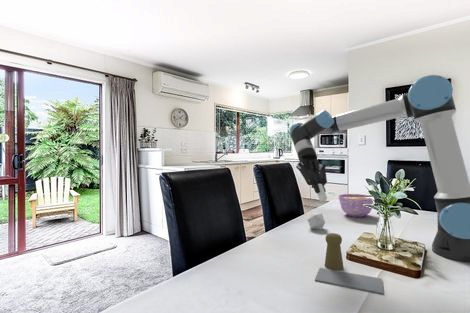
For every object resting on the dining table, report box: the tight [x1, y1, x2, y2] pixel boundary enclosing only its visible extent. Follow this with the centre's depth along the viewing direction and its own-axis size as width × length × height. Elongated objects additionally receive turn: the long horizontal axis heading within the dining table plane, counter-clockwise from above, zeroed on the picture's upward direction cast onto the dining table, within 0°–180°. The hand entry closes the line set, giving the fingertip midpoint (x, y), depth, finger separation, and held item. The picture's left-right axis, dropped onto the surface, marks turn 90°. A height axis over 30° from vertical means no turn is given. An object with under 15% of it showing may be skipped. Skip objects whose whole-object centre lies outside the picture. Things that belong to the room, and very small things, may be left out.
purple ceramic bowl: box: [338, 193, 374, 218], centre depth 158 cm, size 20×20×12 cm
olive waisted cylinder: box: [324, 232, 344, 271], centre depth 88 cm, size 6×6×11 cm
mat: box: [314, 267, 384, 296], centre depth 78 cm, size 18×9×1 cm, turn 63°
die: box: [307, 212, 326, 231], centre depth 132 cm, size 8×9×10 cm
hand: (323, 200), depth 97 cm, fingers closed
